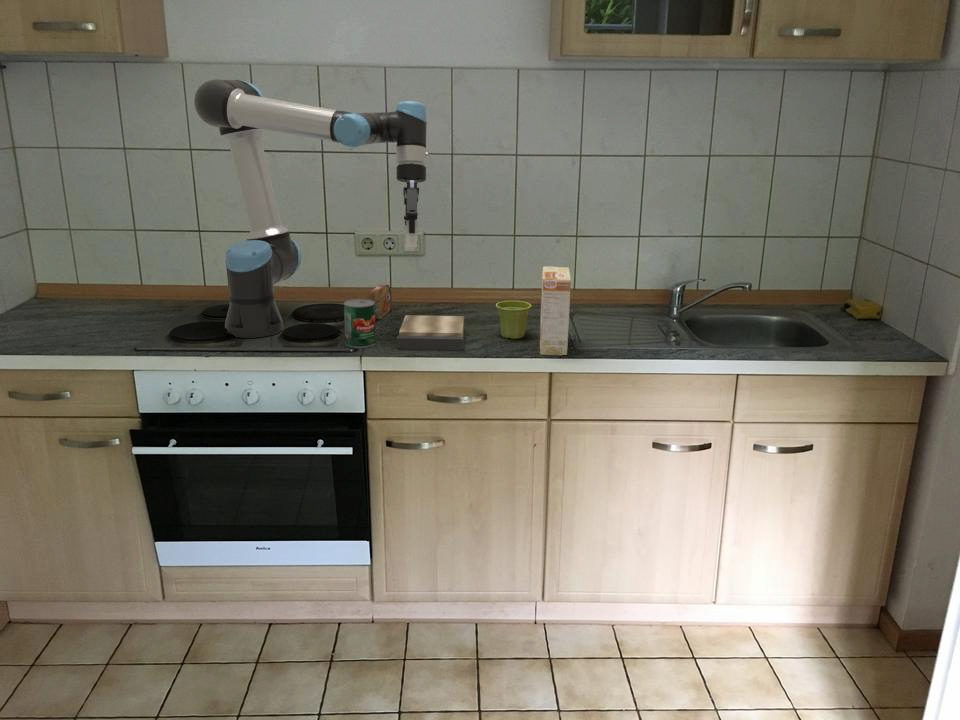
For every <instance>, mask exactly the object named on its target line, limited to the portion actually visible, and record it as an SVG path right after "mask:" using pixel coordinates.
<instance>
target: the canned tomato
mask: <svg viewBox="0 0 960 720" xmlns="http://www.w3.org/2000/svg"><path fill="white" fill-rule="evenodd" d="M343 310H344V312H343V315H344V316H343V317H344V318H343V319H344V337H345V338H344V340H345V341H344V342H345V343H344V344H346V345H347V346H346V345H345V346H346V347H348V346H350V347H349V348H351V347H354V348H353V349H366V348H371V347H373V346H375V345H376V344H377V342H376V341H377V338H376V336H377V335H376V333H377V331H376V319H375V301H373V300H370V299H368V298H352V299H351V298H350V299H346V300H345V301H344V302H343Z"/></svg>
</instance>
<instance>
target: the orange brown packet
mask: <svg viewBox="0 0 960 720" xmlns="http://www.w3.org/2000/svg"><path fill="white" fill-rule="evenodd" d="M367 299H370V300H373V301H375V320H382V319H383V318H384V317H385V316H386V315H387V314H388V313H390V311H391V310H392V309H391V308H392V301H393V300H392V292H391V288H390V285H389V284H379V285H377V286H376V287H375V288H373V289H372V290H370V291H369V292H368V295H367Z"/></svg>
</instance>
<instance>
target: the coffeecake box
mask: <svg viewBox="0 0 960 720" xmlns="http://www.w3.org/2000/svg"><path fill="white" fill-rule="evenodd" d="M571 282H572V280H571V271H570V267H569V266H568V267H565V266H553V265H551V266H543V267H542V276H541V292H540V293H541V295H540V297H541V298H540V319H539V320H540V322H539V324H540V325H539V354H540V356H541V355H542V356H562V355H568V343H569V327H570V326H569V324H570V323H569V322H570V308H571V307H570V302H571V300H570V299H571V286H572V285H571Z"/></svg>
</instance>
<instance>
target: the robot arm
mask: <svg viewBox="0 0 960 720" xmlns="http://www.w3.org/2000/svg"><path fill="white" fill-rule="evenodd" d="M193 98H194V99H193V100H194V102H193V104H194V108H195V109H194V110H195V111H196V114H197V115H198V117H199V118H200V119H201V120H202V121H203V122H204V123H206V124H208V125H209V126H211V127H215V128H218V131H219V134H220V137H221V138H222V139H223V140H225V141H226V142H227V143H228V146H229V150H230V154H231V157H232V161H233V166H234V170H235V175H236V177H237V181H238V186H239V190H240V193H241V198H242V202H243V206H244V210H245V214H246V218H247V222H248V226H249V229H250V231H249V233H248V235H247V237H246V240H244V241H237V242H236V243H233V244H231V245H229V246H228V247H227V248H226V251H225V267H226V277H227V288H228V297H229V298H228V299H229V306H228V310H227V314H226V318H225V322H224V329H225V328H226V329H227V330H228V331H229V332H231V333H232V334H233V335H234V336H235V337H234V338H245V339H253V338H263V337H270V336H274V335H277V334H279V333H282V332H283V330H284V321H283V318H282V315H281V313H280V311H279V308H278V306H277V303H276V298H275V286H274V285H275V284H277V283H280V282H282V281H287V279H289V278H291V277H293V275H295V273H297V271H298V270H299V268H300V267H301V264H302V252H301V249H300V247H299V245H298V243H297V242H296V241H294V240H293V239H292V238H291V235H290V231H289V228H287V227H285V226H283V224H282V220H281V216H280V212H279V208H278V204H277V199H276V196H275V192H274V187H273V183H272V178H271V175H270V171H269V167H268V166H269V165H268V163H267V158H266V153H265V149H264V145H263V140H262V135H263V134H264V132H265V131H266V130H267V131H271V132H276V133H283V134H289V135H295V136H300V137H306V138H312V139H317V140H322V141H323V140H324V141H328V142H333V143H334V142H335V143H338V144H341V145H343V146H344V147H349V148H350V147H352V148H357V147H361V146H366V145H373V144H387V143H396V156H395V157H396V162H395V163H396V164H397V166H396V177H395V178H396V180H397V181H398V182H401V183H406V187H405V186H404V187H403V189H402V190H403V191H402V193H403V204H404V205H405V215H403V221H404V251H405V252H416V248H418V215H419V212H418V202H419V196H420V187H418V183H423V182H426V180H427V167H426V166H425V165H426V164H427V157H429V152H426V151H427V124H428V121H427V108H426V105H425V104H423V103H421V102H419V101H414V100H404V101H401V102H400V101H399V102H398V103H397V104H396V108H395V111H389V112H381V111H380V112H360V113H357V112H350V111H344V110H338V109H334V108H327V107H321V106H320V107H319V106H316V105H315V106H314V105H309V104H303V103H298V102H297V103H296V102H292V101H287V100H286V101H285V100H281V99H280V100H279V99H277V98H269V97H265V96H264V95H263V93H262V91H261V90H260V89H259V88H258V87H257V86H256V85H255V84H253V83H251V82H248V81H245V80H241V79H240V80H239V79H210V80H208V81H205V82H203V83H201V85H200V86H198V88H197V90H196V91H195V94H194V97H193Z"/></svg>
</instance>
